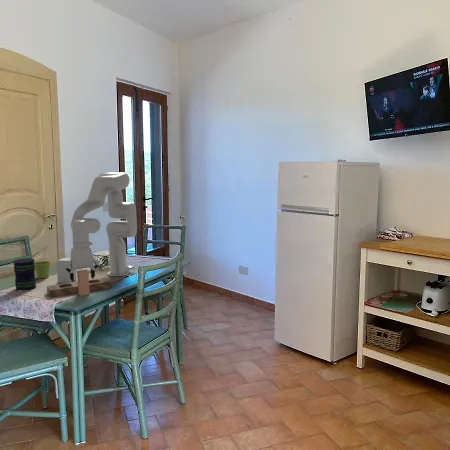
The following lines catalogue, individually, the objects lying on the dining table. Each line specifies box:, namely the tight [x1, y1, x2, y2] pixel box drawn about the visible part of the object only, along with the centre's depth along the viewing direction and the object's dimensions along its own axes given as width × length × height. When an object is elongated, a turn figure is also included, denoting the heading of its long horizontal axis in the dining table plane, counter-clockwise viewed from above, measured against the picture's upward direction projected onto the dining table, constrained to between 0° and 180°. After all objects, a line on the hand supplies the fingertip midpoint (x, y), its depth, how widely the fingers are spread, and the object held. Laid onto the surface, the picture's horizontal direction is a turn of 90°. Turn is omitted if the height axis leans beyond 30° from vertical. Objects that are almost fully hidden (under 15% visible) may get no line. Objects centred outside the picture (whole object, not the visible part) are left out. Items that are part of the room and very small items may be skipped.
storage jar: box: [13, 257, 37, 291], centre depth 216 cm, size 10×10×15 cm
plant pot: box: [34, 260, 52, 279], centre depth 238 cm, size 9×9×9 cm
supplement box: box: [56, 257, 77, 284], centre depth 229 cm, size 7×7×13 cm
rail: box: [46, 277, 113, 298], centre depth 212 cm, size 30×9×4 cm, turn 122°
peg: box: [76, 268, 91, 297], centre depth 205 cm, size 4×4×12 cm
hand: (82, 279), depth 204 cm, fingers open, 9 cm apart
